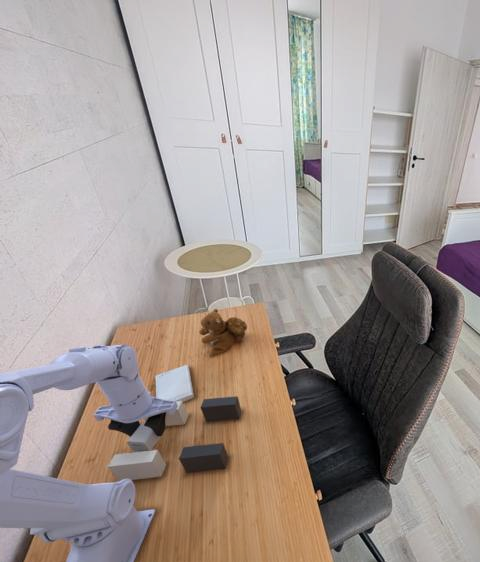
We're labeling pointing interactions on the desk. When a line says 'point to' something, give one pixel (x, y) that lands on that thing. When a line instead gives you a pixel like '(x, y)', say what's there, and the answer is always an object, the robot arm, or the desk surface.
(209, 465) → the grey cases
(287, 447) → the desk surface
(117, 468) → the white cases
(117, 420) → the robot arm
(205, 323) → the stuffed squirrel
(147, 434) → the usb wall charger
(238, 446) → the desk surface
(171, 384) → the hard drive
